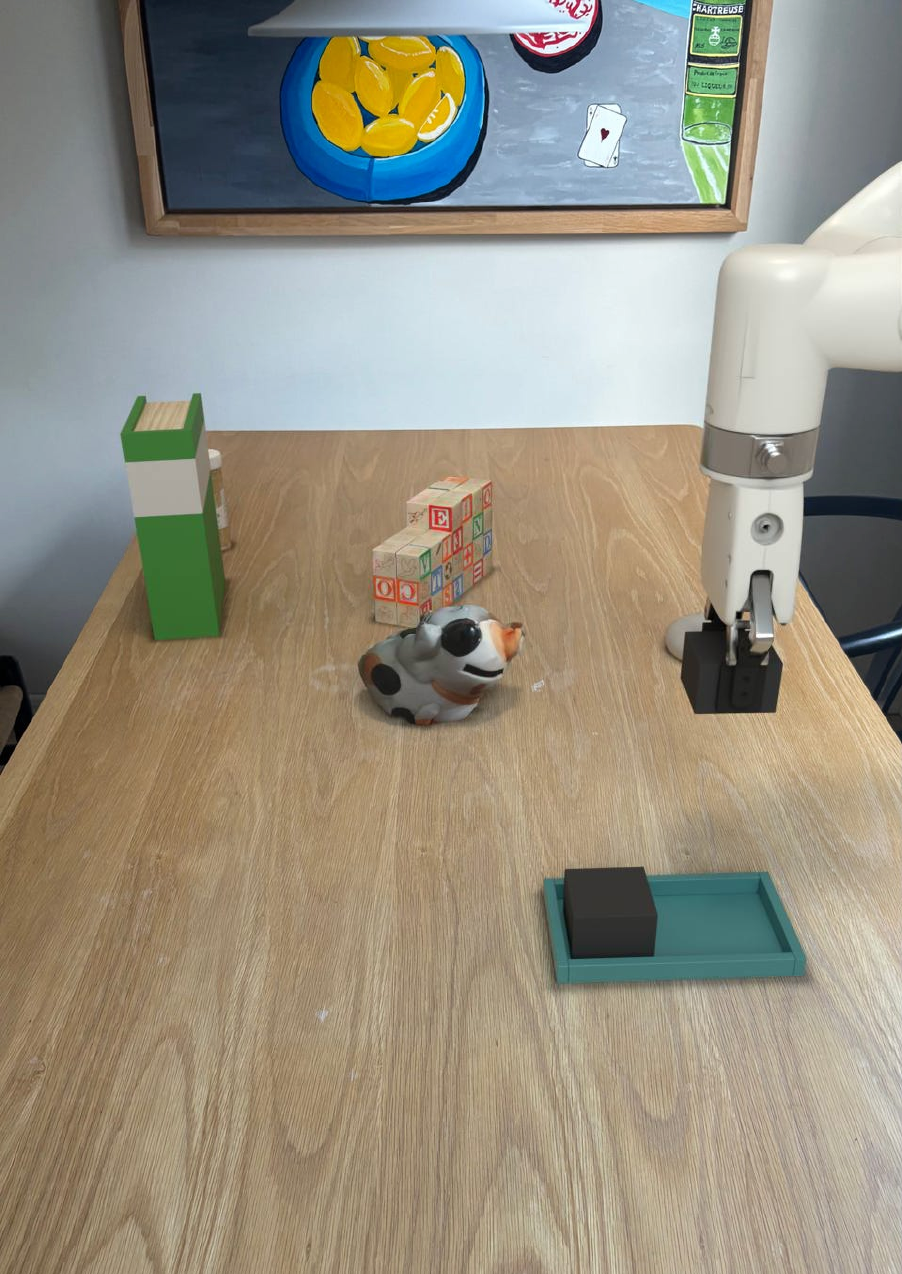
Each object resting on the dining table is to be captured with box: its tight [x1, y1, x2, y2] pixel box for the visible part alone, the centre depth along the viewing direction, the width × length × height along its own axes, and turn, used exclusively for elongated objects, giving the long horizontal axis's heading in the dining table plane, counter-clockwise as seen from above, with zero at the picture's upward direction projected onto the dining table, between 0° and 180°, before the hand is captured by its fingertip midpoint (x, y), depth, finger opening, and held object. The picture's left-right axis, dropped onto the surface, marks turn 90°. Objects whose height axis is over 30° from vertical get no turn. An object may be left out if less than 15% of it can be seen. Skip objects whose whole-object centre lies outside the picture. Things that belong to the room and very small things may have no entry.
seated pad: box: [563, 866, 658, 959], centre depth 85 cm, size 6×6×4 cm
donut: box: [664, 612, 750, 662], centre depth 128 cm, size 10×4×10 cm
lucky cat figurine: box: [357, 603, 527, 727], centre depth 116 cm, size 15×12×14 cm
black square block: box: [680, 630, 784, 715], centre depth 86 cm, size 6×6×4 cm
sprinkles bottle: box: [208, 448, 232, 552], centre depth 158 cm, size 5×5×14 cm
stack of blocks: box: [371, 475, 494, 629], centre depth 142 cm, size 21×6×12 cm, turn 155°
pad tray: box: [542, 871, 808, 984], centre depth 86 cm, size 18×11×2 cm, turn 91°
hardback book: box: [119, 392, 226, 641], centre depth 136 cm, size 18×7×24 cm, turn 7°
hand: (728, 688), depth 87 cm, fingers closed on black square block, 6 cm apart
